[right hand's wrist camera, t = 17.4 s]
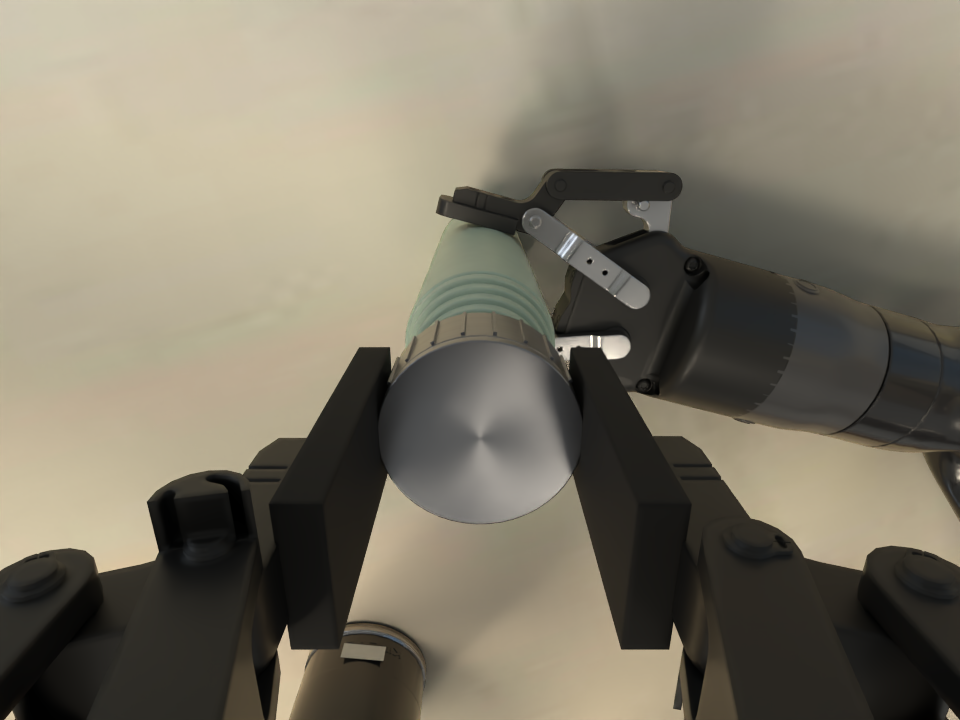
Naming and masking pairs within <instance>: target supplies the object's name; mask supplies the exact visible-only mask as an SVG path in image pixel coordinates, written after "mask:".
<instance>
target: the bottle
mask: <svg viewBox="0 0 960 720" xmlns="http://www.w3.org/2000/svg"><path fill="white" fill-rule="evenodd" d="M492 311H493V312H496V314H500V315H504V316H509V317H511V318H514V319H517V320H520V319H522V320H523V322H524V323H525V324H527V325H529V326H531V327H532V328H534V329H535V330H537V331H538V332H539V333H541V334H542V335H543V334H545V335H546V336H547V339H548V341H549V342H550V343H551V344H552V345H553V347H554V348H555V332H554V326H553V323H552V319H551V317H550V314H549V312H548V309H547V307H546V304H545V301H544V299H543V296H542V294H541V291H540V289H539V286H538V284H537V281H536V279H535V276H534V274H533V271H532V269H531V266H530V264H529V261H528V259H527V256H526V254H525V251H524V249H523V246H522V244H521V241H520V239H519V236H518V234H517V231H516V232H515V235H511V234H508V233H504V232H500V231H497V230H494V229H490V228H486V227H482V226H479V225H475V224H471V223H468V222H464V221H460V220H457V219H452V220H451V222H450V223H449V224H448V225H447V227H446V228H445V230H444V232H443V234H442V237H441V239H440V242H439V244H438V247H437V249H436V252H435V255H434V257H433V260H432V262H431V265H430V267H429V270H428V272H427V275H426V277H425V280H424V282H423V285H422V287H421V290H420V292H419V295H418V297H417V300H416V303H415V305H414V308H413V310H412V313H411V315H410V318H409V321H408V324H407V329H406V338H405V349H406V347H407V346H408V345H409V344H410V343H411V340H412V337H413V336H418V335H419V334H420V333H421V332H423V331H424V330H425V329H427V328H428V327H430V326H432V325H433V324H435V321H437V320H439V321H442V320H444V319H446V318H449V317H453V316H456V315H460V314H463V312H466V313H480V312H485V313H492Z"/></svg>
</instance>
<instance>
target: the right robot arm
mask: <svg viewBox="0 0 960 720" xmlns="http://www.w3.org/2000/svg"><path fill="white" fill-rule="evenodd" d="M569 373H570V376H571V378H572V381H573V382H572V386H573V389H574V391H575V394H576V397H577V400H578V402H579V405H580V408H581V412H582V416H583V424H582V438H581V452H580V458H579V461H578V464H577V466H576V468H575V470H574V472H573V476H574V480H575V484H576V487H577V491H578V494H579V498H580V502H581V505H582V509H583V513H584V516H585V520H586V523H587V527H588V531H589V534H590V538H591V542H592V545H593V549H594V552H595V556H596V560H597V563H598V567H599V570H600V574H601V578H602V581H603V585H604V589H605V592H606V596H607V599H608V603H609V607H610V610H611V614H612V618H613V621H614V625H615V628H616V632H617V636H618V639H619V643H620V647H621V649H669V648H670V641H671V635H672V628H673V622H674V624H675V626H676V629H677V631H678V634H679V636H680V639H681V641H682V644H683V652H682V658H681V664H680V670H679V676H678V682H677V688H676V694H675V700H674V707H673V709H678V710H681V707H682V701H683V710H684V719H685V720H948V719H947V717H946V715H947V712H948V710H949V708H950V709H951V710H952V711H953V712H954V713H955V715H956V716H957V717H958V718H959V719H960V567H958V566H957V565H955V564H953V563H951V562H949V561H946V560H944V559H942V558H940V557H938V556H937V555H934V554H932V553H929V552H926V551H924V552H923V551H922V550H918V549H913V548H907V547H898V546H887V547H881V548H876V549H875V550H873V551H872V552H871V553H870V554H868V555H867V558H866V562H865V565H864V569H863V571H860V570H855V569H850V568H846V567H841V566H836V565H831V564H826V563H822V562H818V561H814V560H810V559H807V558H804V557H803V554H802V552H801V550H800V549H799V547H798V546H797V545H796V543H795V542H794V541H793V539H792V538H790V537H789V536H787V535H786V534H785V533H783V532H782V531H781V530H779V529H778V528H775V527H773V526H771V525H769V524H766V523H764V522H762V521H759V520H755V519H751V518H750V517H749V516H748V514H747V513H746V511H745V510H744V509H743V507H742V506H741V504H740V503H739V502H738V500H737V499H736V497H735V496H734V495H733V493H732V492H731V490H730V489H729V488H728V486H727V485H726V483H725V482H724V481H723V480H721V476H720V475H719V474H718V472H717V471H716V469H715V468H714V467H712V464H711V462H710V461H709V459H708V458H707V457H706V455H705V454H704V452H703V451H702V450H701V449H700V448H699V447H697V446H696V445H694V444H693V443H691V442H690V441H688V440H686V439H685V438H683V437H682V436H652V434H651V433H650V431H649V429H648V427H647V426H646V424H645V422H644V421H643V419H642V417H641V415H640V414H639V412H638V410H637V408H636V407H635V405H634V403H633V402H632V400H631V398H630V396H629V395H628V393H627V391H626V390H625V388H624V386H623V384H622V383H621V381H620V379H619V377H618V376H617V374H616V372H615V371H614V369H613V367H612V365H611V364H610V362H609V360H608V359H607V357H606V355H605V353H604V352H603V350H602V348H601V347H570V363H569ZM390 374H391V357H390V347H359V349H358V351H357V352H356V354H355V356H354V357H353V359H352V361H351V363H350V364H349V366H348V368H347V370H346V371H345V373H344V375H343V376H342V378H341V380H340V382H339V383H338V385H337V387H336V388H335V390H334V392H333V394H332V395H331V397H330V399H329V401H328V402H327V404H326V406H325V407H324V409H323V411H322V413H321V414H320V416H319V418H318V420H317V421H316V423H315V425H314V426H313V428H312V430H311V432H310V433H309V435H308V437H307V438H278V439H277V440H275V441H274V442H272V443H271V444H269V445H268V446H266V447H265V448H263V449H262V450H260V451H259V453H258V454H257V455H256V457H255V458H254V460H253V461H252V462H251V464H250V465H249V469H246V471H245V472H244V474H243V475H242V474H240V473H236V472H232V471H228V470H215V471H205V472H200V473H195V474H190V475H187V476H185V477H182V478H179V479H177V480H174V481H172V482H170V483H168V484H167V485H165V486H164V487H162V488H161V489H159V490H157V491H156V492H155V493H154V494H153V496H152V497H151V498H150V499H149V500H148V501H147V504H148V508H149V513H150V517H151V521H152V525H153V529H154V533H155V537H156V541H157V545H158V549H159V553H158V555H157V558H156V560H155V561H152V562H148V563H145V564H141V565H136V566H131V567H127V568H122V569H117V570H112V571H108V572H103V573H98V570H97V567H96V564H95V560H94V558H93V557H92V556H91V555H90V554H89V553H87V552H86V551H83V550H77V549H71V548H68V549H59V550H50V551H46V552H41V553H40V554H34V555H31V556H29V557H26V558H24V559H22V560H20V561H18V562H16V563H14V564H12V565H10V566H8V567H6V568H4V569H3V570H1V571H0V720H4V719H5V718H6V717H7V716H8V715H9V713H10V712H11V711H13V713H14V716H15V718H16V719H15V720H276V711H277V702H278V693H279V683H280V674H281V671H280V664H279V658H278V652H277V648H278V645H279V643H280V640H281V638H282V635H283V633H284V630H285V628H286V625H287V626H288V632H289V639H290V645H291V649H339V648H340V644H341V641H342V637H343V633H344V630H345V626H346V623H347V619H348V615H349V612H350V608H351V604H352V601H353V597H354V594H355V590H356V586H357V583H358V579H359V575H360V572H361V568H362V565H363V561H364V557H365V554H366V550H367V546H368V543H369V539H370V536H371V532H372V528H373V525H374V521H375V517H376V514H377V510H378V507H379V503H380V499H381V496H382V492H383V489H384V485H385V481H386V478H387V474H388V473H387V471H386V469H385V467H384V464H383V462H382V459H381V457H380V447H379V433H378V415H379V410H380V407H381V404H382V402H383V399H384V396H385V394H386V391H387V388H388V385H387V382H388V379H389V377H390Z"/></svg>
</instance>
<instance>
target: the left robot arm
mask: <svg viewBox="0 0 960 720" xmlns="http://www.w3.org/2000/svg"><path fill="white" fill-rule="evenodd" d="M681 191H682V181H681V179H680V177H679V176H678V175H676V174H674V173H669V172H664V171H658V170H611V169H550V170H548V171H547V172H546V173H545V174H544V175H543V177H542V181H541V183H540V184H539V185H538V187H537V188H536V190H535V191H534V192H533V194H532V195H531V196H530V197H528V198H526V199H524V200H515V199H511V198H508V197H504V196H500V195H497V194H493V193H490V192H486V191H483V190H479V189H476V188H472V187H468V186H465V187H457V188H456V189H455V192H454V196H453V197H451V196H446V195H441V196H440V197H439V202H438V206H437V210H436V213H437V214H440V215H443V216H446V217H449V218H453V219H457V220H460V221H464V222H468V223H471V224H475V225H479V226H482V227H486V228H490V229H494V230H497V231H500V232H504V233H508V234H511V235H515V232H516V231H520V232H523V233H527V234H530V235H531V236H532V237H534V238H535V239H537V240H538V241H539V242H541V243H542V244H544V245H545V246H546V247H548V248H549V249H551V250H552V251H553V252H555V253H556V254H557V255H559V256H560V257H561V258H562V259H563V260H565V261H566V262H567V263H569V267H568V270H567V273H566V276H565V291H564V294H563V295H562V297H561V298H560V300H559V301H558V303H557V304H556V307H555V310H554V313H553V316H552V317H551V319H552V323H553V326H554V332H555V349H556V350H557V352H558V354H559V355H562V356H563V357H564V360H565V361H569V360H570V347H601V348H602V350H603V352H604V353H605V355H606V357H607V359H608V360H609V362H610V364H611V365H612V367H613V369H614V371H615V372H616V374H617V376H618V377H619V379H620V381H621V383H622V384H623V386H624V388H625V390H626V391H627V392H637V393H641V394H644V395H647V396H650V397H654V398H658V399H662V400H666V401H669V402H673V403H677V404H681V405H685V406H689V407H693V408H697V409H701V410H705V411H709V412H713V413H717V414H721V415H725V416H729V417H732V418H733V419H735V420H737V421H740V422H744V423H748V424H750V423H752V424H755V423H756V424H761V425H765V426H769V427H773V428H778V429H785V430H795V431H804V432H811V433H816V434H820V435H824V436H828V437H832V438H836V439H840V440H844V441H848V442H852V443H855V444H859V445H863V446H868V447H872V448H877V449H882V450H888V451H896V452H913V453H915V452H923V455H924V457H925V460H926V462H927V464H928V466H929V468H930V470H931V472H932V474H933V476H934V478H935V480H936V481H937V483H938V485H939V487H940V488H941V490H942V492H943V494H944V495H945V497H946V499H947V500H948V502H949V504H950V506H951V507H952V509H953V511H954V513H955V514H956V516H957V518H958V519H959V521H960V327H954V326H944V325H936V324H933V323H930V322H927V321H924V320H921V319H918V318H914V317H911V316H907V315H904V314H900V313H897V312H893V311H890V310H886V309H882V308H879V307H875V306H872V305H868V304H865V303H862V302H859V301H856V300H853V299H851V298H849V297H847V296H845V295H843V294H840V293H838V292H836V291H833V290H831V289H828V288H826V287H823V286H820V285H816V284H813V283H810V282H808V281H805V280H802V279H795V278H791V277H788V276H784V275H780V274H777V273H774V272H770V271H766V270H763V269H760V268H756V267H752V266H749V265H745V264H742V263H738V262H734V261H731V260H727V259H724V258H720V257H717V256H713V255H710V254H706V253H702V252H699V251H695V250H692V249H689V248H686V247H684V246H682V245H681V244H680V243H679V242H678V241H677V239H676V238H675V237H674V236H673V235H671V234H670V233H668V230H669V223H670V215H671V207H672V200H674V199H676V198H677V197H678V196H679V194H680V193H681ZM565 200H610V201H622V204H623V208H624V210H625V211H626V212H627V213H628V214H630V215H632V216H635V217H639V218H641V220H642V221H643V224H644V229H642V230H639V231H637V232H634V233H631V234H629V235H626V236H623V237H620V238H618V239H615V240H612V241H610V242H607V243H604V244H602V245H599V246H595V245H593V244H592V243H590V242H589V241H588V240H586V239H585V238H584V237H582V236H581V235H579V234H578V233H577V232H575V231H574V230H573V229H571V228H570V227H568V226H567V225H565V224H564V223H562V222H561V221H560V220H558V219H557V218H556V217H554V215H555V213H556V212H557V211H558V209H559V208H560V206H561V205H562V204H563V202H564V201H565ZM558 347H560V348H558ZM425 678H426V664H425V660H424V657H423V655H422V653H421V651H420V650H419V648H418V647H417V646H416V645H415V644H414V642H412V641H411V640H410V639H409V638H408V637H406V636H405V635H403V634H402V633H400V632H398V631H396V630H394V629H391V628H388V627H385V626H381V625H377V624H369V623H357V624H349V625H346V626H345V630H344V633H343V637H342V641H341V644H340V648H339V649H311V651H310V653H309V656H308V660H307V663H306V666H305V673H304V676H303V679H302V682H301V685H300V688H299V691H298V694H297V697H296V699H295V703H294V706H293V709H292V712H291V715H290V718H289V720H420V714H421V705H422V695H423V690H424V686H425Z"/></svg>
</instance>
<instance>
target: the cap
mask: <svg viewBox="0 0 960 720" xmlns="http://www.w3.org/2000/svg"><path fill="white" fill-rule="evenodd" d="M572 382H573V381H572V378H571V376H570V373H569V371H568V368H567V365H566V363H565V360H564V357H563V356H562V355H559V354H558V352H557V350H556V349H555V348H554V347H553V345H552V344H551V343H550V342H549V341H548V339H547V336H546V335H545V334H543V335H542V334H541V333H539V332H538V331H537V330H535V329H534V328H532V327H531V326H529V325H527V324H525V323H524V322H523V320H522V319H520V320H517V319H514V318H511V317H509V316H504V315H500V314H496V312H493V311H492V313H485V312H480V313H466V312H463V314H460V315H456V316H453V317H449V318H446V319H444V320H442V321H439V320H437V321H435V324H433V325H432V326H430V327H428V328H427V329H425V330H424V331H423V332H421V333H420V334H419V335H418V336H413V337H412V340H411V343H410V344H409V345H408V346H407V347H406V349H405V350H404V352H403V353H402V355H401V356H400V357H397V358H396V361H395V363H394V366H393V369H392V371H391V374H390V377H389V379H388V382H387V385H388V388H387V391H386V394H385V396H384V399H383V402H382V404H381V407H380V410H379V415H378V433H379V447H380V457H381V459H382V462H383V464H384V467H385V469H386V471H387V473H388V474H389V476H390V478H391V479H392V481H393V482H394V483H395V485H396V486H397V487H398V489H399V490H400V491H401V492H402V493H403V494H404V495H405V496H406V497H407V498H409V499H410V500H411V501H413V502H414V503H415V504H416V505H418V506H419V507H421V508H423V509H424V510H426V511H428V512H430V513H432V514H434V515H437V516H439V517H442V518H445V519H448V520H451V521H456V522H461V523H469V524H492V523H500V522H505V521H509V520H513V519H516V518H519V517H521V516H524V515H526V514H528V513H530V512H532V511H534V510H536V509H538V508H540V507H541V506H543V505H544V504H546V503H547V502H548V501H549V500H551V499H552V498H553V497H554V496H555V495H557V493H558V492H559V491H560V490H561V489H562V488H563V487H564V486H565V484H566V483H567V482H568V480H569V479H570V477H571V476H572V474H573V472H574V470H575V468H576V466H577V464H578V461H579V458H580V452H581V438H582V424H583V416H582V412H581V408H580V405H579V402H578V400H577V397H576V394H575V391H574V389H573V386H572Z"/></svg>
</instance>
